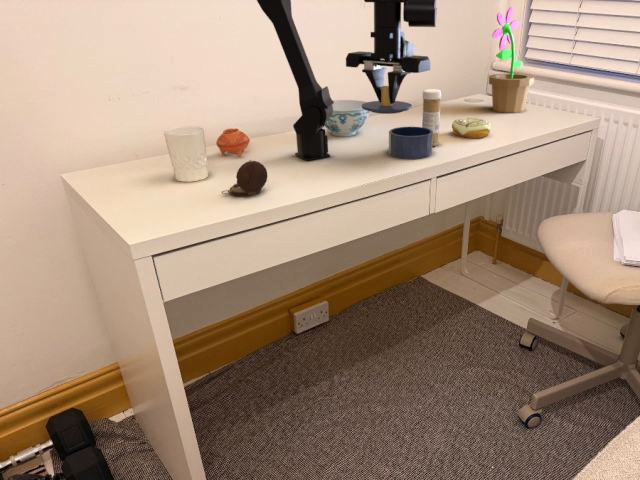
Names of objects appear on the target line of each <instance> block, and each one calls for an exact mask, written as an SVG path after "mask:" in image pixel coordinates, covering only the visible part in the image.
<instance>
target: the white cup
mask: <svg viewBox="0 0 640 480" xmlns="http://www.w3.org/2000/svg"><path fill="white" fill-rule="evenodd" d="M163 135H164V139H165V143H166V148H167V151H168V152H167V153H168V155H169V160H170V163H171V167H172V168H173V174H174V177H175V179H176V181H179V182H183V183H187V182H188V183H190V182H198V181H202V180H205V179H207V178H208V177H209V169H208V158H207V148H206V147H207V145H206V137H205V129H204V127H201V126H195V125H193V126H192V125H189V126H188V125H186V126H185V125H183V126H175V127H171V128H170V127H169V128H167V129H166V130H163Z"/></svg>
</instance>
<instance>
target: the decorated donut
mask: <svg viewBox="0 0 640 480" xmlns="http://www.w3.org/2000/svg"><path fill="white" fill-rule="evenodd" d="M451 129H452V132H453V133H454V134H455V135H456V136H458V137H462V138H466V139H470V138H471V139H476V138H480V139H481V138H484V137H487V136H489V134H490V131H491V129H492V124H491V123H490V122H489V121H487V120H485V119H482V118H478V117H477V118H476V117H465V118H457V119H455V120H453V121H452V123H451Z"/></svg>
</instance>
